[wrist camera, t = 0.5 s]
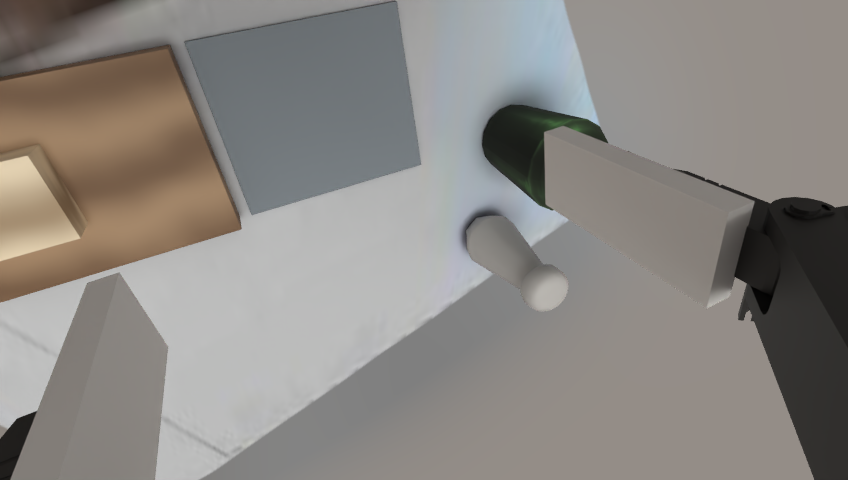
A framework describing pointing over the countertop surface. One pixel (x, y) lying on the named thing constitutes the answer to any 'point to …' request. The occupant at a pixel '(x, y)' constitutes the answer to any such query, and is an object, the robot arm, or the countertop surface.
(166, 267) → the countertop surface
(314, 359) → the countertop surface
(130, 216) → the board
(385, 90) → the slate mat
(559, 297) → the salt shaker
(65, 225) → the beech block
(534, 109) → the potion bottle
